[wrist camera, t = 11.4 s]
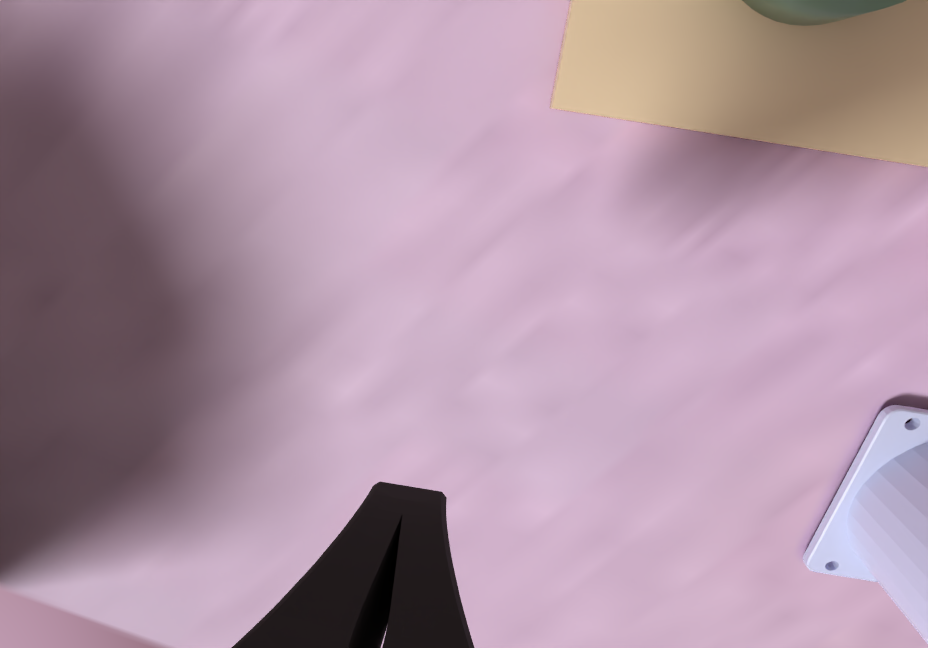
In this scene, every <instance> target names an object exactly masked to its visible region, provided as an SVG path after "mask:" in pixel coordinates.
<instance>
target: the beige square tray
mask: <svg viewBox="0 0 928 648" xmlns="http://www.w3.org/2000/svg"><path fill="white" fill-rule="evenodd" d="M550 108H551V109H558V110H564V111H571V112H577V113H583V114H590V115H596V116H603V117H609V118H615V119H622V120H628V121H635V122H641V123H647V124H654V125H660V126H667V127H673V128H679V129H686V130H692V131H699V132H705V133H711V134H718V135H724V136H731V137H737V138H743V139H750V140H756V141H762V142H769V143H775V144H782V145H788V146H794V147H801V148H807V149H814V150H820V151H826V152H833V153H839V154H846V155H852V156H858V157H865V158H871V159H878V160H884V161H890V162H897V163H903V164H910V165H916V166H922V167H928V0H570V5H569V10H568V15H567V20H566V25H565V31H564V36H563V41H562V46H561V51H560V57H559V62H558V67H557V72H556V77H555V83H554V88H553V93H552V98H551V103H550Z"/></svg>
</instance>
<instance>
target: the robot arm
mask: <svg viewBox="0 0 928 648" xmlns="http://www.w3.org/2000/svg"><path fill="white" fill-rule="evenodd" d="M911 418H912V420H911V421H910V422H909V423H906V424H905V422H906V421H907V420H909V419H911ZM803 561H804V563H805V565H806V566H807V568H808V569H809V570H811V571H814V572H819V573H825V574H831V575H837V576H843V577H849V578H856V579H862V580H868V581H874V582H879V584H880V585H881V586H882V587H883V589H884V590H885V591H886V593H887V594H888V595H889V596H890V598H891V599H892V600H893V601H894V603H895V604H896V605H897V606H898V608H899V609H900V610H901V611H902V613H903V614H904V615H905V616H906V618H907V619H908V620H909V621H910V623H911V624H912V625H913V626H914V628H915V629H916V630H917V631H918V633H919V634H920V635H921V636H922V638H923V639H924V640H925V642H926V643H927V644H928V410H926V409H920V408H913V407H907V406H901V405H891V406H888V407H886V408H884V409H883V410H882V411H881V412H880V413H879V415H878V416H877V418H876V420H875V422H874V424H873V426H872V428H871V430H870V431H869V433H868V435H867V437H866V439H865V441H864V443H863V445H862V446H861V448H860V450H859V452H858V454H857V456H856V458H855V460H854V461H853V463H852V465H851V467H850V469H849V471H848V473H847V475H846V476H845V478H844V480H843V482H842V484H841V486H840V488H839V490H838V491H837V493H836V495H835V497H834V499H833V501H832V503H831V505H830V507H829V508H828V510H827V512H826V514H825V516H824V518H823V520H822V522H821V523H820V525H819V527H818V529H817V531H816V533H815V535H814V537H813V538H812V540H811V542H810V544H809V546H808V548H807V550H806V552H805V553H804V555H803ZM830 561H831V562H830ZM387 624H388V625H387ZM386 628H387V630H386ZM385 631H386V636H385V640H384V644H383V648H474V645H473V642H472V639H471V635H470V632H469V628H468V625H467V621H466V618H465V614H464V611H463V607H462V603H461V599H460V595H459V591H458V586H457V581H456V577H455V572H454V568H453V563H452V558H451V552H450V546H449V539H448V531H447V521H446V496H445V495H444V494H443V493H442V492H439V491H433V490H427V489H421V488H415V487H409V486H403V485H397V484H391V483H385V482H379V483H377V484H375V485H374V486H373V487H372V489H371V491H370V492H369V494H368V496H367V497H366V499H365V500H364V502H363V503H362V504H361V506H360V507H359V509H358V510H357V512H356V513H355V514H354V516H353V517H352V518H351V520H350V521H349V522H348V524H347V525H346V526H345V527H344V529H343V530H342V531H341V533H340V534H339V535H338V536H337V537H336V539H335V540H334V541H333V542H332V543H331V545H330V546H329V547H328V548H327V549H326V551H325V552H324V553H323V554H322V555H321V557H320V558H319V559H318V560H317V561H316V563H315V564H314V565H313V566H312V567H311V568H310V569H309V570H308V572H307V573H306V574H305V575H304V576H303V577H302V578H301V579H300V580H299V581H298V582H297V583H296V584H295V586H294V587H293V588H292V589H291V590H290V591H289V592H288V593H287V594H286V595H285V596H284V597H283V598H282V599H281V601H280V602H279V603H278V604H277V605H276V606H275V607H274V608H273V609H272V610H271V611H270V612H269V613H268V614H267V615H266V616H265V617H264V618H263V619H262V620H261V621H260V622H259V623H257V624H256V625H255V626H254V627H253V628H252V629H251V630H250V631H249V632H248V633H247V634H246V635H245V636H244V637H243V638H242V639H241V640H239V641H238V642H237V643H236V644H235V645H234V646H233V647H232V648H380V647H381V644H382V641H383V638H384V634H385Z"/></svg>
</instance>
